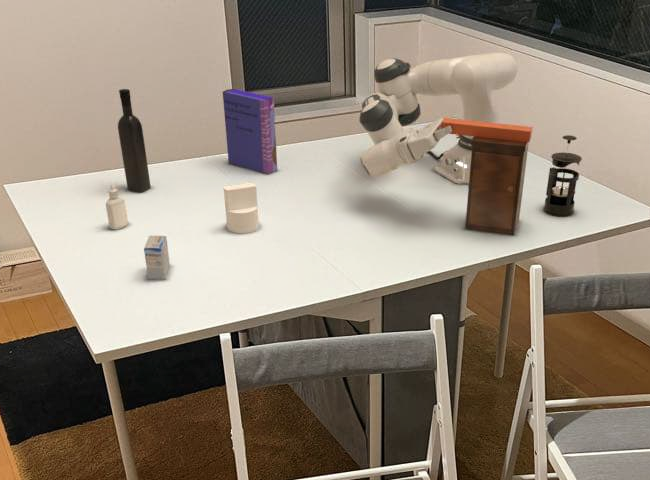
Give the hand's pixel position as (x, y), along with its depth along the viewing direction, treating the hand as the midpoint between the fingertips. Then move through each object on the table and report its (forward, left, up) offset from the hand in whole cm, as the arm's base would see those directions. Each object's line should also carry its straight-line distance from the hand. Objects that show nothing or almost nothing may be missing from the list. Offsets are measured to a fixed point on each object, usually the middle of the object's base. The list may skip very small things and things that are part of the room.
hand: (453, 124), depth 230 cm
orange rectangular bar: (+8, +5, -2) cm, 9 cm away
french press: (+15, +33, -28) cm, 46 cm away
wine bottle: (-76, -62, -28) cm, 102 cm away
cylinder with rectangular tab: (-31, -52, -28) cm, 67 cm away
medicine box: (-18, -85, -28) cm, 91 cm away
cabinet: (+11, +8, -28) cm, 31 cm away
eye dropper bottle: (-52, -80, -28) cm, 99 cm away
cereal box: (-73, -22, -28) cm, 81 cm away
